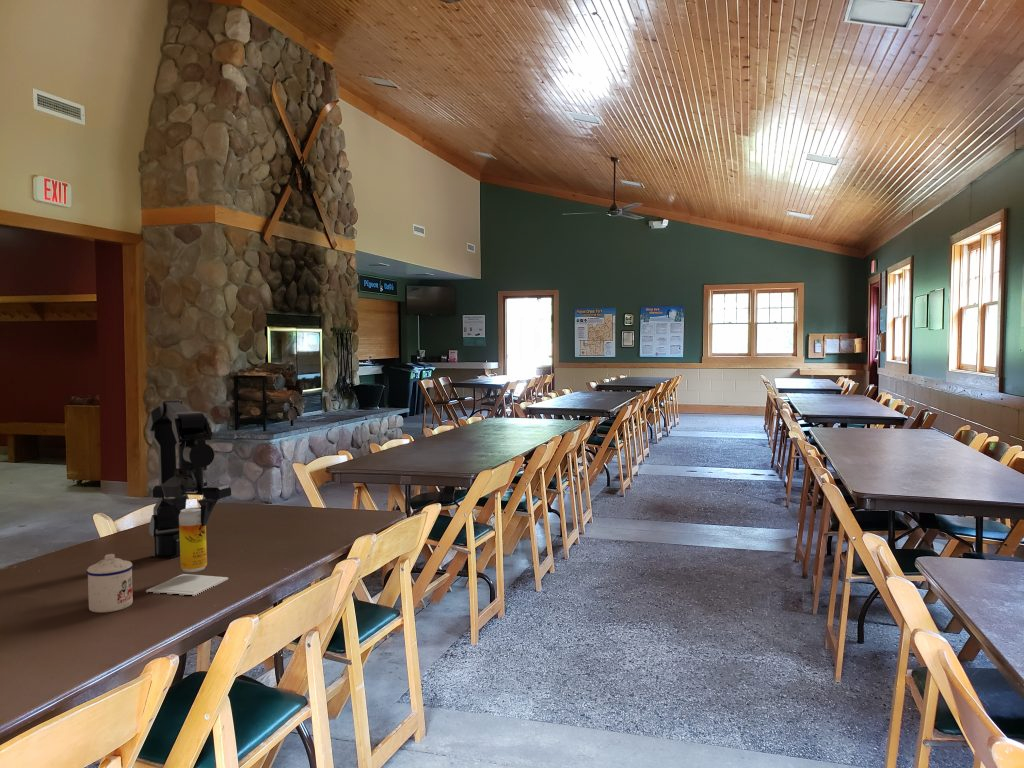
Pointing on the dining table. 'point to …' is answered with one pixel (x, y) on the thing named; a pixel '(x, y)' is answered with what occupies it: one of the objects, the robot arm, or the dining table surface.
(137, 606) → the dining table surface
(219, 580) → the coaster
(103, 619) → the dining table surface
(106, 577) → the teacup with lid
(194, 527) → the beer can
